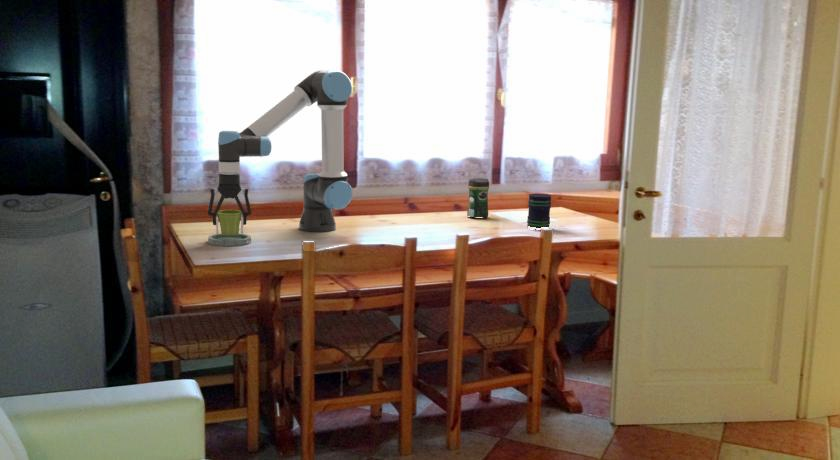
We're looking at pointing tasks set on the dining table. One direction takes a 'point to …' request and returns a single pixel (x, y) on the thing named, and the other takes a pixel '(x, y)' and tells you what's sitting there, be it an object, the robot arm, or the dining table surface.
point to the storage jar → (539, 210)
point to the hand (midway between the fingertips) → (229, 233)
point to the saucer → (229, 240)
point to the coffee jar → (478, 197)
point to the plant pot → (229, 221)
